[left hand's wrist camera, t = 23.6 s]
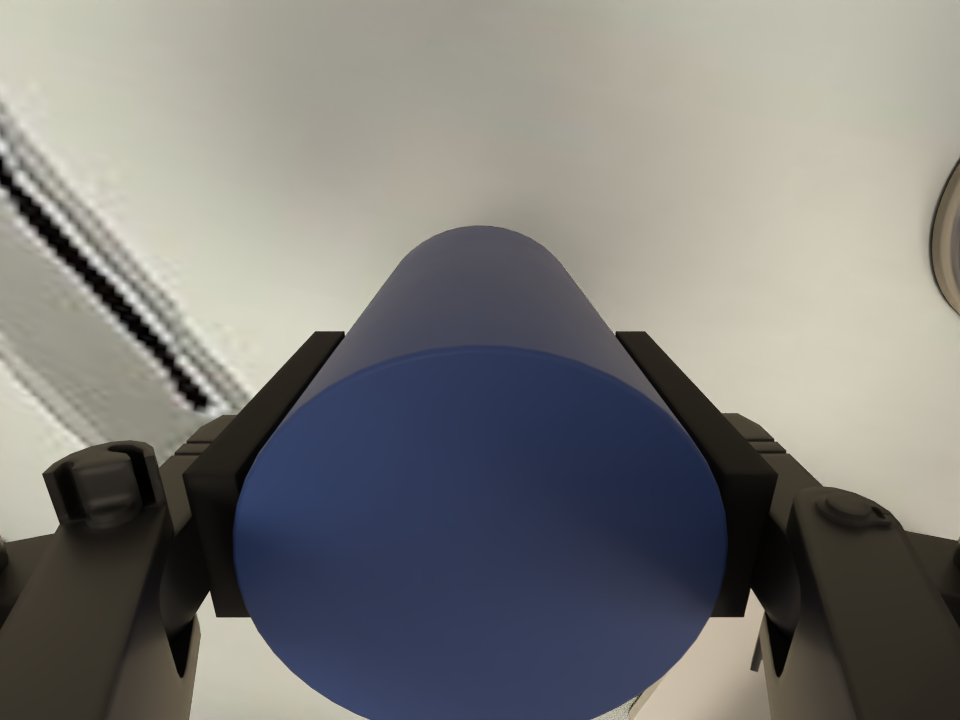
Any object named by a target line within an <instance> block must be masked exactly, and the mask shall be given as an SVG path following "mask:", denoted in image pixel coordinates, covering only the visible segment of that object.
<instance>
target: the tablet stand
mask: <svg viewBox="0 0 960 720" xmlns="http://www.w3.org/2000/svg"><path fill="white" fill-rule="evenodd" d="M763 614H764V608H763V607H762V605H761V604H760V602H759V600H758V599H757V597H756V596H755V594H754V592H753V591H752V589H751V590H750V594H749V598H748V602H747V607H746V611H745V615H744V617H710V618H709V620H708V621H707V623H706V625H705V626H704V628H703V630H702V631H701V633H700V635H699V636H698V638H697V640H696V641H695V642H694V643H693V645H692V646H691V647H690V648H689V650H688V651H687V652H686V653H685V655H684V656H683V657H682V658H681V659H680V660H679V661H678V662H677V663H676V664H675V665H674V666H673V667H672V668H671V669H670V670H669V671H668V672H667V673H666V674H665V675H664V676H663V677H662V678H660V679H659V680H658V681H657V682H655V683H654V684H653V685H651V686H650V687H649V688H647V689H646V690H645V691H644V692H643V694H642V695H641V696H640V698H639V699H638V700H637V702H636V703H635V704H634V706H633V707H632V709H631V710H630V711H629V717H630V720H771V715H770V707H769V700H768V693H767V686H766V679H765V672H764V664H763V660H761V663H760V666H759V670H758V672H755V671H752V670H750V667H751V661H752V656H753V652H754V649H755V645H756V641H757V637H758V633H759V629H760V626H761V622H762V618H763Z"/></svg>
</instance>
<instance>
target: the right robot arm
mask: <svg viewBox="0 0 960 720" xmlns="http://www.w3.org/2000/svg"><path fill="white" fill-rule="evenodd" d="M932 258H933V265H934V271H935V275H936V278H937V282H938V284H939V286H940V289H941V291H942V293H943V294H944V296H945V298H946V299H947V301H948V302H949V303H950V305H951V306H952V307H953V308H954V309H955V310H956V311H957V312H958V313H959V314H960V163H959V165H958V166H957V168H956V170H955V172H954V173H953V175H952V177H951V179H950V181H949V183H948V185H947V187H946V190H945V192H944V194H943V197H942V199H941V202H940V205H939V208H938V212H937V216H936V219H935V224H934V230H933V240H932Z"/></svg>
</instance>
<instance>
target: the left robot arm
mask: <svg viewBox="0 0 960 720" xmlns="http://www.w3.org/2000/svg"><path fill="white" fill-rule="evenodd" d="M344 337H345V332H344V331H315V332H314V333H313V334H312V336H311V337H310V338H309V339H308V340H307V341H306V342H305V343H304V344H303V345H302V346H301V347H300V348H299V349H298V351H297V352H296V353H295V354H294V355H293V356H292V357H291V358H290V359H289V360H288V361H287V362H286V363H285V364H284V366H283V367H282V368H281V369H280V370H279V371H278V372H277V373H276V374H275V375H274V376H273V377H272V378H271V379H270V381H269V382H268V383H267V384H266V385H265V386H264V387H263V388H262V389H261V390H260V391H259V392H258V393H257V394H256V395H255V397H254V398H253V399H252V400H251V401H250V402H249V403H248V404H247V405H246V406H245V407H244V408H243V409H242V410H241V412H240V413H239V414H238V415H222V416H221V417H219V418H217V419H215V420H213V421H211V422H209V423H208V424H206V425H204V426H202V427H201V428H199V429H198V430H197V431H196V432H195V433H194V434H193V435H192V436H191V437H190V438H189V439H188V440H187V444H183V445H182V446H181V447H180V448H179V449H178V450H177V451H176V452H175V455H174V456H171V457H170V458H169V459H168V460H167V461H166V462H165V463H164V464H163V465H162V466H160V467H159V468H158V464H157V460H156V456H155V452H154V449H153V447H152V446H150V445H148V444H147V443H145V442H139V441H131V440H130V441H117V442H109V443H105V444H100V445H96V446H91V447H89V448H86V449H83V450H80V451H78V452H75V453H72V454H70V455H68V456H66V457H64V458H63V459H61V460H59V461H57V462H55V463H54V464H52V465H51V466H50V467H49V468H48V469H47V470H46V471H45V472H44V473H43V474H42V475H43V478H44V481H45V483H46V486H47V489H48V492H49V495H50V497H51V500H52V503H53V506H54V509H55V511H56V514H57V517H58V520H59V523H60V525H59V527H58V528H57V530H56V532H55V533H54V534H49V535H44V536H39V537H34V538H28V539H23V540H18V541H13V542H7V543H3V541H2V539H1V536H0V720H189V716H190V709H191V702H192V695H193V687H194V680H195V673H196V666H197V659H198V652H199V644H200V637H201V633H200V627H199V622H198V618H197V614H196V612H197V610H198V609H199V607H200V605H201V604H202V602H203V601H204V599H205V597H206V596H207V594H208V592H209V591H210V593H211V597H212V601H213V605H214V609H215V613H216V617H250V615H249V613H248V611H247V609H246V607H245V604H244V601H243V598H242V595H241V592H240V590H239V587H238V583H237V578H236V572H235V567H234V561H233V527H234V520H235V513H236V507H237V502H238V499H239V496H240V493H241V490H242V487H243V484H244V481H245V478H246V476H247V474H248V472H249V470H250V469H251V467H252V465H253V463H254V461H255V459H256V457H257V455H258V453H259V452H260V450H261V449H262V448H263V446H264V445H265V444H266V442H267V441H268V440H269V438H270V437H271V436H272V434H273V433H274V432H275V430H276V429H277V428H278V426H279V425H280V423H281V422H282V421H283V419H284V418H285V417H286V415H287V414H288V413H289V411H290V410H291V409H292V407H293V406H294V405H295V403H296V402H297V401H298V399H299V398H300V397H301V395H302V394H303V393H304V391H305V390H306V388H307V387H308V386H309V384H310V383H311V382H312V380H313V379H314V378H315V376H316V375H317V374H318V372H319V371H320V370H321V368H322V367H323V366H324V364H325V363H326V362H327V360H328V359H329V358H330V356H331V355H332V353H333V352H334V351H335V349H336V348H337V347H338V345H339V344H340V343H341V341H342V340H343V339H344ZM615 337H616V338H617V339H618V341H619V342H620V343H621V345H622V346H623V347H624V349H625V350H626V351H627V353H628V354H629V355H630V357H631V358H632V359H633V361H634V362H635V363H636V365H637V366H638V367H639V369H640V370H641V371H642V373H643V374H644V375H645V377H646V378H647V379H648V381H649V382H650V383H651V385H652V386H653V387H654V389H655V390H656V391H657V393H658V394H659V395H660V397H661V398H662V400H663V401H664V402H665V404H666V405H667V406H668V408H669V409H670V410H671V412H672V413H673V414H674V416H675V417H676V418H677V420H678V421H679V422H680V424H681V425H682V426H683V428H684V429H685V430H686V432H687V433H688V434H689V436H690V437H691V439H692V440H693V442H694V443H695V445H696V446H697V448H698V449H699V451H700V452H701V454H702V455H703V457H704V458H705V460H706V461H707V463H708V465H709V467H710V470H711V472H712V474H713V476H714V479H715V481H716V483H717V485H718V487H719V491H720V495H721V499H722V503H723V506H724V510H725V514H726V525H727V537H728V549H727V561H726V571H725V575H724V579H723V583H722V587H721V591H720V595H719V597H718V599H717V602H716V604H715V606H714V609H713V611H712V614H711V616H710V617H744V615H745V611H746V607H747V602H748V598H749V594H750V590H751V589H752V591H753V592H754V594H755V596H756V597H757V599H758V600H759V602H760V604H761V605H762V607H763V608H764V614H763V618H762V622H761V626H760V629H759V633H758V637H757V641H756V645H755V649H754V652H753V656H752V661H751V667H750V670H752V671H755V672H758V670H759V666H760V663H761V660H763V664H764V672H765V679H766V686H767V693H768V700H769V707H770V715H771V720H960V537H959V540H958V541H955V540H950V539H945V538H940V537H934V536H929V535H924V534H919V533H914V532H908V531H904V529H903V527H902V526H901V524H900V523H899V521H898V520H897V519H896V518H895V517H894V516H893V515H892V514H891V512H889V511H888V510H886V509H885V508H883V507H882V506H880V505H879V504H877V503H876V502H874V501H872V500H870V499H867V498H865V497H863V496H861V495H858V494H856V493H853V492H849V491H845V490H842V489H838V488H833V487H823V486H822V485H821V484H820V483H819V482H818V481H817V480H816V479H815V478H814V477H813V476H812V475H811V474H810V473H809V472H808V471H807V470H806V469H805V468H804V467H803V466H801V465H800V464H799V463H798V462H797V461H796V460H795V459H794V458H793V457H792V456H791V455H790V454H786V450H785V449H784V448H783V447H782V446H781V445H780V444H779V443H778V442H774V438H772V437H771V436H770V435H769V434H768V433H767V432H766V431H765V430H764V429H763V428H762V427H761V426H760V425H758V424H757V423H755V422H753V421H751V420H749V419H747V418H745V417H743V416H742V415H740V414H738V413H721V412H720V411H719V410H718V409H717V408H716V407H715V406H714V405H713V404H712V403H711V402H710V400H709V399H708V398H707V397H706V396H705V395H704V394H703V393H702V392H701V391H700V390H699V389H698V388H697V387H696V385H695V384H694V383H693V382H692V381H691V380H690V379H689V378H688V377H687V376H686V375H685V374H684V373H683V372H682V371H681V369H680V368H679V367H678V366H677V365H676V364H675V363H674V362H673V361H672V360H671V359H670V358H669V357H668V356H667V354H666V353H665V352H664V351H663V350H662V349H661V348H660V347H659V346H658V345H657V344H656V343H655V342H654V341H653V339H652V338H651V337H650V336H649V335H648V334H647V333H646V332H645V331H616V336H615Z"/></svg>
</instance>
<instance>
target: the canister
mask: <svg viewBox="0 0 960 720" xmlns="http://www.w3.org/2000/svg"><path fill="white" fill-rule="evenodd" d="M727 549H728V537H727V525H726V514H725V510H724V506H723V503H722V499H721V495H720V491H719V487H718V485H717V483H716V481H715V479H714V476H713V474H712V472H711V470H710V467H709V465H708V463H707V461H706V460H705V458H704V457H703V455H702V454H701V452H700V451H699V449H698V448H697V446H696V445H695V443H694V442H693V440H692V439H691V437H690V436H689V434H688V433H687V432H686V430H685V429H684V428H683V426H682V425H681V424H680V422H679V421H678V420H677V418H676V417H675V416H674V414H673V413H672V412H671V410H670V409H669V408H668V406H667V405H666V404H665V402H664V401H663V400H662V398H661V397H660V395H659V394H658V393H657V391H656V390H655V389H654V387H653V386H652V385H651V383H650V382H649V381H648V379H647V378H646V377H645V375H644V374H643V373H642V371H641V370H640V369H639V367H638V366H637V365H636V363H635V362H634V361H633V359H632V358H631V357H630V355H629V354H628V353H627V351H626V350H625V349H624V347H623V346H622V345H621V343H620V342H619V341H618V339H617V338H616V337H615V335H614V334H613V333H612V331H611V330H610V329H609V327H608V326H607V325H606V323H605V322H604V321H603V319H602V318H601V317H600V315H599V314H598V313H597V311H596V310H595V308H594V307H593V306H592V304H591V303H590V302H589V300H588V299H587V298H586V296H585V295H584V294H583V292H582V291H581V290H580V288H579V287H578V286H577V284H576V283H575V282H574V280H573V279H572V278H571V276H570V275H569V274H568V272H567V271H566V270H565V268H564V267H563V266H562V264H561V263H560V262H559V261H558V260H557V259H556V258H555V257H554V255H553V254H551V253H550V252H549V251H548V250H547V249H545V248H544V247H543V246H542V245H540V244H539V243H537V242H536V241H534V240H532V239H531V238H529V237H527V236H524V235H522V234H520V233H518V232H515V231H511V230H508V229H505V228H499V227H493V226H467V227H460V228H456V229H452V230H448V231H445V232H443V233H440V234H438V235H435V236H433V237H431V238H430V239H428V240H426V241H424V242H423V243H421V244H420V245H418V246H417V247H416V248H415V249H413V250H412V251H411V252H410V253H409V254H408V255H407V256H406V257H405V258H404V259H403V260H402V261H401V262H400V263H399V265H398V266H397V267H396V269H395V270H394V271H393V273H392V274H391V275H390V277H389V278H388V279H387V281H386V282H385V283H384V285H383V286H382V287H381V289H380V290H379V292H378V293H377V294H376V296H375V297H374V298H373V300H372V301H371V302H370V304H369V305H368V306H367V308H366V309H365V310H364V312H363V313H362V314H361V316H360V317H359V318H358V320H357V321H356V323H355V324H354V325H353V327H352V328H351V329H350V331H349V332H348V333H347V335H346V336H345V337H344V339H343V340H342V341H341V343H340V344H339V345H338V347H337V348H336V349H335V351H334V352H333V353H332V355H331V356H330V358H329V359H328V360H327V362H326V363H325V364H324V366H323V367H322V368H321V370H320V371H319V372H318V374H317V375H316V376H315V378H314V379H313V380H312V382H311V383H310V384H309V386H308V387H307V388H306V390H305V391H304V393H303V394H302V395H301V397H300V398H299V399H298V401H297V402H296V403H295V405H294V406H293V407H292V409H291V410H290V411H289V413H288V414H287V415H286V417H285V418H284V419H283V421H282V422H281V423H280V425H279V426H278V428H277V429H276V430H275V432H274V433H273V434H272V436H271V437H270V438H269V440H268V441H267V442H266V444H265V445H264V446H263V448H262V449H261V450H260V452H259V453H258V455H257V457H256V459H255V461H254V463H253V465H252V467H251V469H250V470H249V472H248V474H247V476H246V478H245V481H244V484H243V487H242V490H241V493H240V496H239V499H238V502H237V507H236V513H235V520H234V527H233V561H234V567H235V572H236V578H237V583H238V587H239V590H240V592H241V595H242V598H243V601H244V604H245V607H246V609H247V611H248V613H249V615H250V617H251V619H252V621H253V622H254V624H255V626H256V628H257V630H258V632H259V633H260V634H261V636H262V637H263V639H264V640H265V641H266V643H267V644H268V645H269V647H270V648H271V650H272V651H273V652H274V653H275V654H276V656H277V657H278V658H279V659H280V660H281V661H282V662H283V663H284V664H285V665H286V666H287V667H288V668H289V669H290V670H291V671H292V672H293V673H294V674H295V675H297V676H298V677H299V678H300V679H301V680H303V681H304V682H305V683H306V684H307V685H309V686H310V687H311V688H313V689H314V690H316V691H317V692H319V693H320V694H322V695H323V696H325V697H326V698H328V699H329V700H331V701H332V702H334V703H336V704H338V705H340V706H342V707H344V708H346V709H348V710H349V711H351V712H353V713H355V714H357V715H360V716H362V717H365V718H367V719H370V720H591V719H593V718H596V717H598V716H600V715H602V714H604V713H606V712H609V711H611V710H613V709H615V708H617V707H619V706H621V705H622V704H624V703H626V702H627V701H629V700H631V699H632V698H634V697H636V696H637V695H639V694H641V693H642V692H643V691H645V690H646V689H647V688H649V687H650V686H651V685H653V684H654V683H655V682H657V681H658V680H659V679H660V678H662V677H663V676H664V675H665V674H666V673H667V672H668V671H669V670H670V669H671V668H672V667H673V666H674V665H675V664H676V663H677V662H678V661H679V660H680V659H681V658H682V657H683V656H684V655H685V653H686V652H687V651H688V650H689V648H690V647H691V646H692V645H693V643H694V642H695V641H696V640H697V638H698V636H699V635H700V633H701V631H702V630H703V628H704V626H705V625H706V623H707V621H708V620H709V618H710V616H711V614H712V611H713V609H714V606H715V604H716V602H717V599H718V597H719V595H720V591H721V587H722V583H723V579H724V575H725V571H726V561H727Z"/></svg>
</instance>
